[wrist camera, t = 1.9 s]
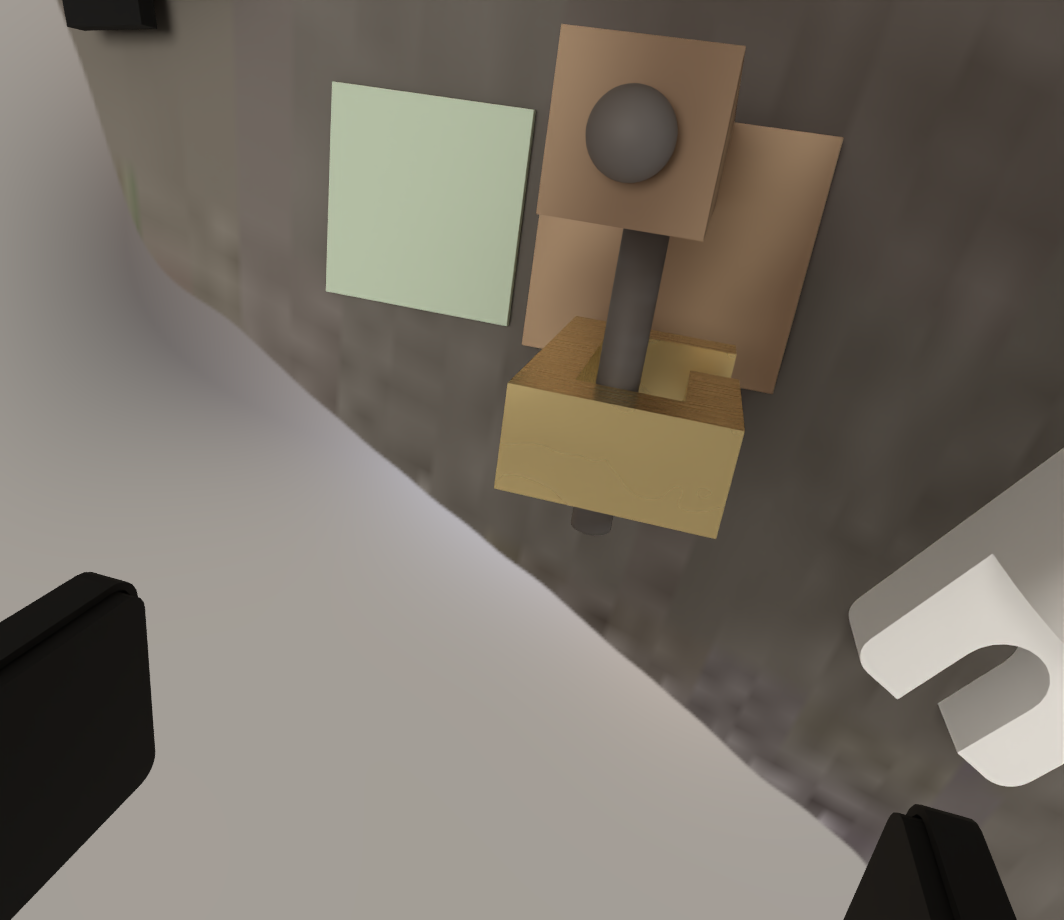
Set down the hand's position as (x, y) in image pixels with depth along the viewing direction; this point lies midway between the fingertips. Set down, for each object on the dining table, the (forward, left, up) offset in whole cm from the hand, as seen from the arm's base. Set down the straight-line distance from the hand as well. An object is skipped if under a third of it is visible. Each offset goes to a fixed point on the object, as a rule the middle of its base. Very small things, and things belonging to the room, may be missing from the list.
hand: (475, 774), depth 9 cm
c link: (0, 0, -21) cm, 21 cm away
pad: (+11, -4, -26) cm, 29 cm away
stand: (0, -4, -26) cm, 26 cm away
